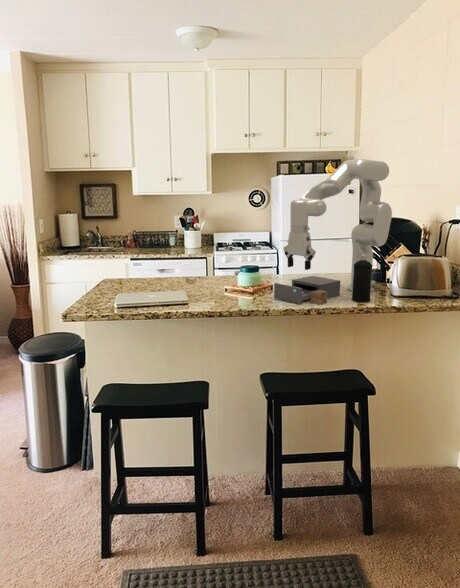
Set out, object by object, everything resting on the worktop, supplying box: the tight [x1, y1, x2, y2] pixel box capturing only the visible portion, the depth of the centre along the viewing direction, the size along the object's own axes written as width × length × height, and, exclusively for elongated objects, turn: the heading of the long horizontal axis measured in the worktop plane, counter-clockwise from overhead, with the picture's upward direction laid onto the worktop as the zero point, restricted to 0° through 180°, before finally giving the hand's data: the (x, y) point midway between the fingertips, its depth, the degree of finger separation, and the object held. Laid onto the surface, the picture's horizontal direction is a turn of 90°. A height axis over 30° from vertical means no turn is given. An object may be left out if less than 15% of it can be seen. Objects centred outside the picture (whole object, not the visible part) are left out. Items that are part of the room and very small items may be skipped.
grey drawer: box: [273, 282, 312, 305], centre depth 229 cm, size 16×15×7 cm
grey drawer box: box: [291, 275, 341, 299], centre depth 238 cm, size 15×16×7 cm
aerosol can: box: [351, 255, 374, 303], centre depth 226 cm, size 8×8×20 cm
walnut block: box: [309, 290, 328, 305], centre depth 223 cm, size 5×5×5 cm
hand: (298, 268), depth 227 cm, fingers open, 9 cm apart
